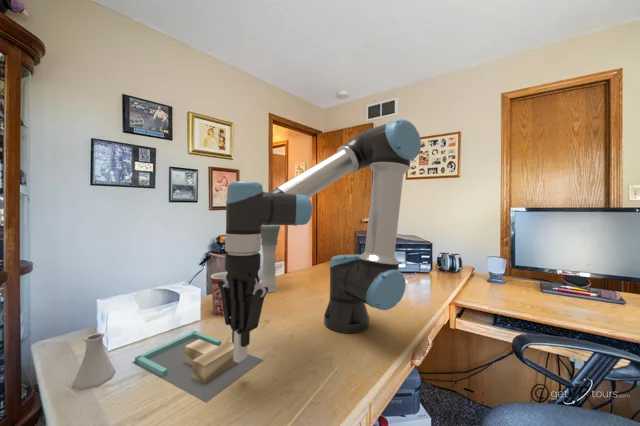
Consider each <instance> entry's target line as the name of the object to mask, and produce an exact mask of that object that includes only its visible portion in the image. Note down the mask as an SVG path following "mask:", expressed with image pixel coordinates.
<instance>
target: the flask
mask: <svg viewBox="0 0 640 426" xmlns="http://www.w3.org/2000/svg"><path fill="white" fill-rule="evenodd" d="M104 337H105V333H102V332H99V333H93V334H92V333H91V334H89V335H88V336H86V337H85V338H84V340H83V341H84V342H85V345H86V347H85V348H86V349H85V351H84V357H83V360H82V361H81V364H80V367H79V369H78V372H77V374H76V376H75V379H74V381H73V383H72V385H71V389H75V390H79V391H85V390H86V391H87V390H90V389H95V388H99V387H101V386H102V385H104V384H105V383H107V382H109V381H110V380H112V379H113V378H114V375H115V374H116V372H117V371H116V369H115V368H114V365H113V364H112V362H111V360H110V358H109V356H108V354H107V353H106V351H105V348H104V343H103V339H104Z"/></svg>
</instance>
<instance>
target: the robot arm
mask: <svg viewBox="0 0 640 426" xmlns="http://www.w3.org/2000/svg"><path fill="white" fill-rule="evenodd" d="M421 147H422V140H421V136H420V133H419V131H418V129H417V128H416V126H415V125H414V124H413V123H412V122H410V120H407V119H403V118H402V119H401V118H400V119H396V120H390V121H388V122H387V123H385V124H381V125H379V126H376V127H373V128H370V129H366V130H364V131H363V132H361V133H359V134H358V135H356V136H354V137H353V138H351V139H350V140H349V141H347V142H346V143H344V144H343V145H341V146H339V147H338V148H337V150H336V152H335V153H334V154H332V155H330V156H329V157H327V158H325V159H323V160H322V161H320V162H318V163H317V164H315V165H313V166H312V167H310V168H307V169H306V170H304V171H302V172H301V173H299V174H298V175H296V176H294V177H292V178H291V179H289V180H287V181H286V182H284V183H282V184H280V185H279V186H277V187H276V188H274V189H272V190H271V191H270V190H269V191H268V192H266V191H264V189H263V184H262V183H261V182H258V181H257V182H256V181H249V180H247V181H242V180H239V181H237V180H236V181H232V182H229V184H228V185H227V192H226V201H225V204H226V209H225V210H226V211H225V214H226V215H225V216H226V217H225V242H224V243H225V244H224V251H225V252H226V254H225V255H224V270H225V271H226V272H228V273H227V275H226V278H225V279H224V280H221V281H218V286H219V288H220V291H221V296H222V304H223V311H224V315H223V317H224V323H225V325H226V326H230V329H231V330H232V332H231V335H232V337H231V342H232V343H234V350H233V361H235V362H237V363H239V362H240V361H242V360H243V359H245V358H247V354H248V346H249V345H250V343H251V342H250V340H251V339H250V338H251V337H250V336H251V335H250V334H251V332H252V331H253V330H256V329H257V328H258V327H259V324H260V318H261V313H262V309H263V305H264V300H265V297H266V296H267V294H268V293H267V292H268V288H267V287H263V286H262V283H260V277H259V272H260V269H261V261H262V260H261V258H262V257H261V256H262V255H261V253H260V251H261V249H262V245H261V227H262V225H280V226H295V227H296V226H303V225H307V224H308V223H309V222H310V220H311V218H312V214H313V204H312V200H311V197H313V196H315V195H316V194H317V193H319V192H321V191H322V190H324V189H326V188H327V187H329V186H331V185H332V184H333V183H335V182H336V181H338V180H340V179H341V178H343V177H344V176H346V175H348V174H355V173H356V172H357V171H359V170H361V169H364V168H368V167H369V168H370V170H372V172H373V177H372V185H371V186H372V187H371V195H370V203H369V212H368V221H367V229H366V237H365V244H364V245H365V246H364V251H363V253H362V254H359V253H358V254H339V255H335V256H332V257H331V259H330V264H329V271H330V272H329V300H328V304H327V306H326V310H325V312H324V316H323V323H324V325H325V326H326V327H327V328H328V329H329V330H332V331H335V332H337V333H344V334H355V333H356V334H358V333H361V332H363V331H366V330H367V329H368V328H369V327H370V315H369V312H368V309H367V306H366V305H368V306H369V307H370V308H375V309H378V310H380V311H388V310H391V309H392V308H394V307H396V306H397V305H398V304H399V303H400V301H401V300H402V299H403V297H404V294H405V292H406V286H407V285H406V284H407V283H406V278H405V277H404V274H403V273H402V272H401V271H400V270H399V266H400V262H399V260H398V259H397V258H396V256H395V254H396V253H395V252H396V245H397V234H398V225H399V217H400V207H401V200H402V190H403V181H404V180H403V179H404V175H405V174H406V173H407V172H408V171H409V170H410V168H411V167H410V166H411V161H412V160H414V159H416V158H417V157H418V155H419V154H420V153H421V149H422V148H421Z"/></svg>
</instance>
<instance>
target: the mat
mask: <svg viewBox="0 0 640 426" xmlns="http://www.w3.org/2000/svg"><path fill="white" fill-rule="evenodd" d="M199 339H200V340H203V341H206V342H208V343H211V344H213V345H216V346H220V345H221V344H222V340H221V339H218V338H215V337H212V336H209V335H207V334H204V333H201V332H198V331H196V330H194V331H192V332H189V333H187V334H185V335H183V336H179V337H178V338H176V339H173V340H172V341H169V342H167V343H164V344H163V345H160V346H158V347H156V348H153V349H151V350H149V351H147V352H145V353H142V354H140V355H137V356H136V357H135V358H134V361H132V362H131V364H134V365H136V366H138V367H140V368H141V369H144V370H146V371H147V372H149V373H151V374H153V375H155V376H156V377H158V378H160V379H162V380H164V381H165V382H167V383H169V384H171V385H172V386H175V387H176V388H179V389H180V390H182V391H184V392H186V393H188V394H190V395H191V396H194V397H195V398H197V399H199V400H201V401H202V402H203V403H208V402H209V401H210V400H212V399H213V398H215V397H216V396H218V395H219V394H220V393H222V392H223V391H224V390H225V389H227V388H228V387H230V386H231V385H232V384H233V383H235V382H236V381H238V380H239V379H241V377H243V376H244V375H247V373H249V372H250V371H252V370H253V369H254V368H255V367H257V366H258V365H259V364H261V363H262V362H263V361H264V359H262V358H259V357H257V356H255V355H252V354H249V353H247V358H245V359H243V360H242V361H240V362H239V363H235V364H234V365H232V366H231V367H229V368H228V369H226V370H225V371H223V372H222V373H220V374H219V375H217V376H216V377H214V378H213V379H211V380H210V381H208V382H207V383H205V384H204V383H202V382H200V381H198V380H196V379H194V378H193V366H192V365H190V364H188V363H186V362H185V346H186V345H188V344H190V343H192V342H194V341H196V340H199Z"/></svg>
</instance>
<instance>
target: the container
mask: <svg viewBox="0 0 640 426" xmlns="http://www.w3.org/2000/svg"><path fill="white" fill-rule="evenodd" d="M280 229H281V225H262V227H261V249H262V274H261V275H262V277H261V285H262V286H263V287H267V288H268V292H267V294H268V293H274V292H277V289H278V288H277V283H276V281H277V280H276V279H277V277H276V254H277V253H276V251H277V245H278V238H279V234H280V233H279V232H280Z"/></svg>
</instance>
